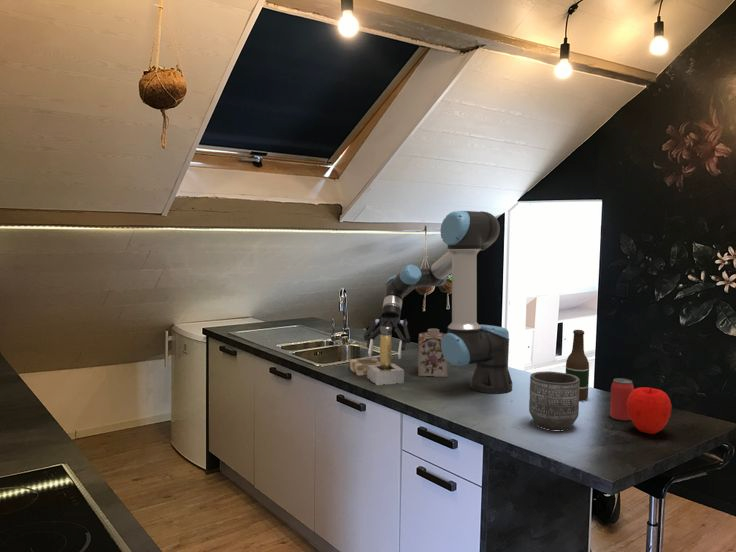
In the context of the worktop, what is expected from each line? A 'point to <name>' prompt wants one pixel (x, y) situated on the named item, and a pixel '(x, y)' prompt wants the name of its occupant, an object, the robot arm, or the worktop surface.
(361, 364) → the rack block
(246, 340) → the worktop surface
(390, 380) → the socket block
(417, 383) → the worktop surface
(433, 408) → the worktop surface
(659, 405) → the apple
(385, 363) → the yellow glass cylinder
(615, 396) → the beer can
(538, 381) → the planter
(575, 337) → the beer bottle
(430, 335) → the decorative jar
